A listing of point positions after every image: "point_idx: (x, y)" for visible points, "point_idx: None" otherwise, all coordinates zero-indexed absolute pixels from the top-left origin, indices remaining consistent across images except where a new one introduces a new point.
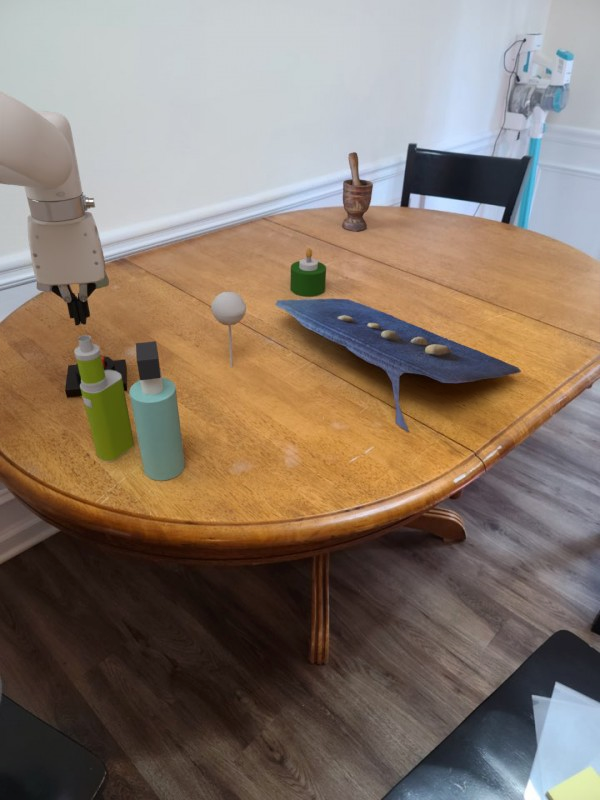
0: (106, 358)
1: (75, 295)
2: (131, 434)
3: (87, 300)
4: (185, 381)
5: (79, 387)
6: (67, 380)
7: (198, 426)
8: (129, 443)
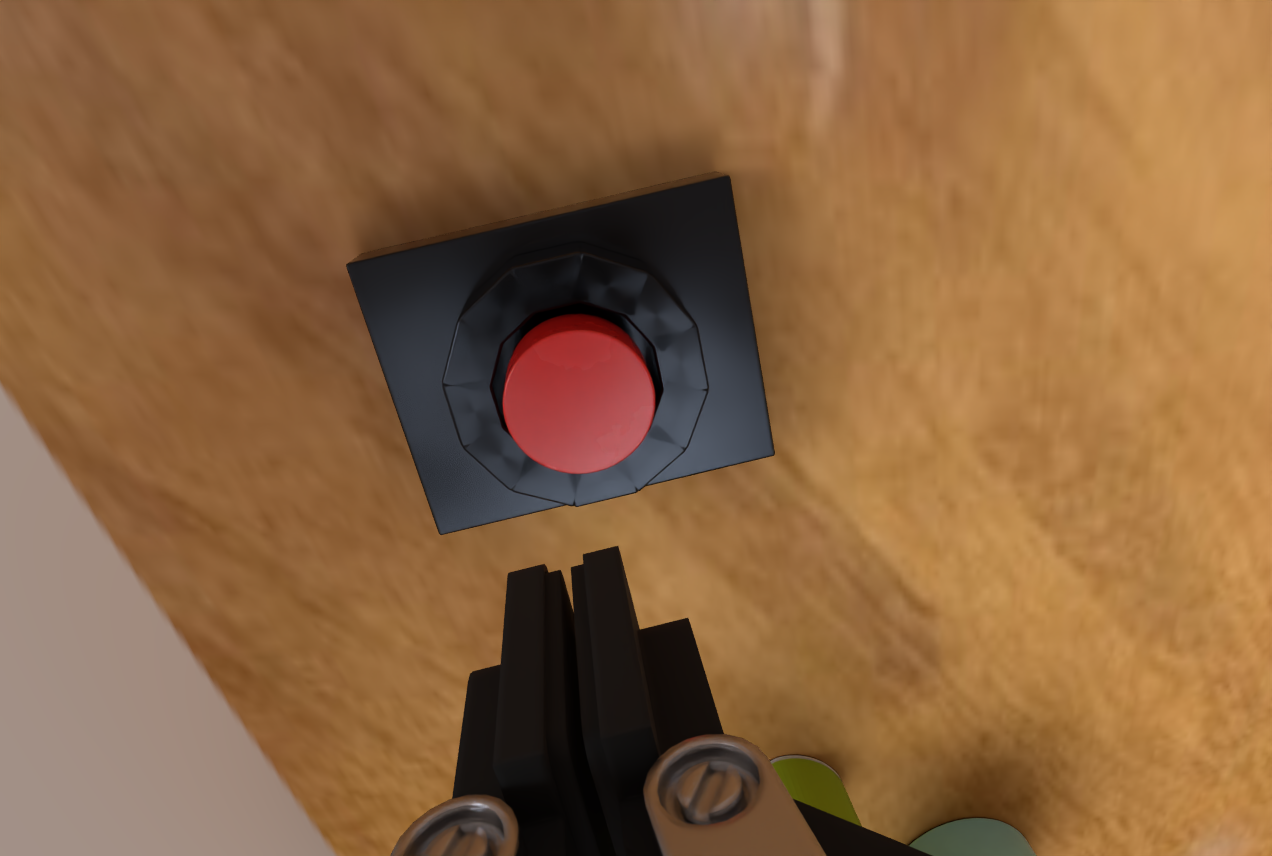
0: (639, 295)
1: (544, 749)
2: None
3: (721, 728)
4: (1075, 332)
5: (517, 511)
6: (417, 445)
7: (1099, 672)
8: None
